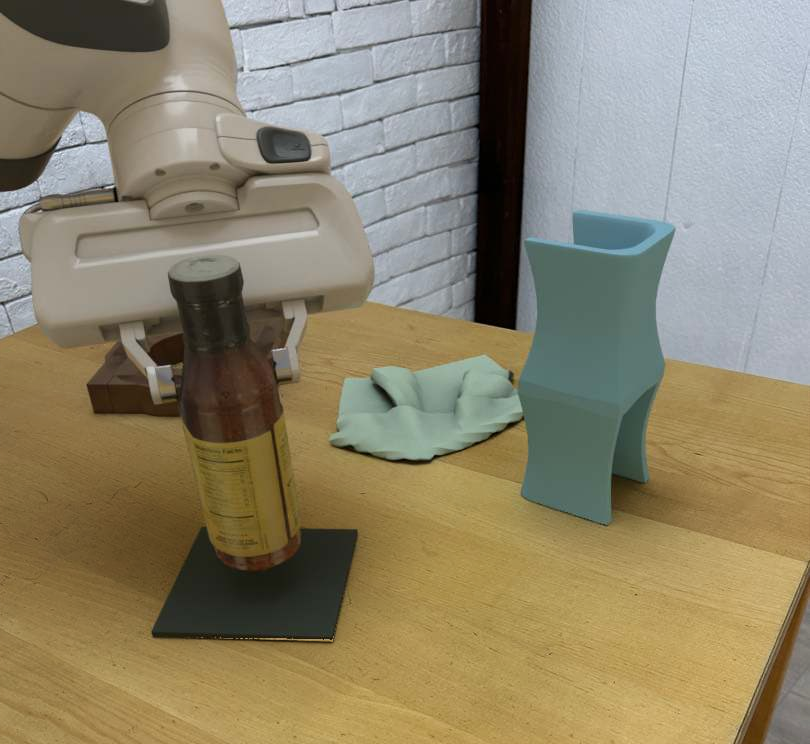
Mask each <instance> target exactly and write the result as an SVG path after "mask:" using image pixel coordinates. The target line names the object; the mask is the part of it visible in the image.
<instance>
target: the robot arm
mask: <svg viewBox="0 0 810 744" xmlns="http://www.w3.org/2000/svg"><path fill="white" fill-rule="evenodd" d="M229 25H230V24H229V22H228V18H227V14H226V10H225V7H224V5H223V2H222V0H0V193H8V192H15V191H18V190H19V191H20V190H22V189H24V188H27V187H29V186H30V185H32V184H34V183H35V182H36V181H38V180H39V178H40V177H41V176H42V175H43V174H44V172H45V170H46V168H47V166H48V165H49V163H50V160H51V159H52V157H53V155H54V154H55V151H56V149H57V147H58V145H59V144H60V142H61V139H62V137H63V134H64V133H65V131H66V130H67V128H68V127H69V126H70V124H71V123H72V122H73V121H74V119H75V118H76V117H77V115H78V113H80V112H84V113H87V114H91V115H93V116H95V117H97V118H98V119H99V120H100V121H101V123H102V125H103V127H104V130H105V137H106V141H107V147H108V153H109V159H110V165H111V168H112V169H111V170H112V175H113V180H114V186H113V187H108V188H99V189H90V190H85V191H80V192H76V193H70V194H63V193H53V194H48V195H44V196H41V197H39V202H37V203H36V204H32V205H31V206H30V207H28V208H26V209H25V211H24V212H23V213H22V214H21V215H20V216H19V220H18V229H17V230H18V235H19V236H18V237H19V242H20V249H21V252H22V254H23V257H24V258H25V259H26V261H28V262H29V263H30V285H31V299H32V308H33V309H32V310H33V314H34V318H35V321H36V324H37V325H38V327H39V330H40V331H41V332H42V333H43V335H44V336H45V337H46V338H47V339H48V340H49V341H50V342H52V343H53V344H54V345H56V346H57V347H58V348H60V349H64V350H66V349H67V350H68V349H75V348H82V347H90V346H97V345H104V344H111V343H116V342H119V341H122V344H123V346H124V349H125V351H126V354H127V356H128V357H129V358H130V359H131V361H132V362H133V363H134V364H135V365H136V366H137V367H138V368H139V369H140V371H141V372H142V373H143V374H144V375H145V376H146V377H147V378H148V381H149V387H150V392H151V396H152V400H153V402H154V405H156V404H163V403H169V402H175V401H179V398H178V392H177V389H176V382H175V376H174V372H173V369H172V368H173V365H166V366H158V367H157V365H156V364H155V363H154V361H153V360H152V359H151V358H150V357H149V356H148V355H147V353H149V351H150V347H149V341H148V337H154V336H161V335H168V334H175V333H182V332H183V328H182V324H181V319H180V315H179V310H178V306H177V302H176V300H175V299H174V298H173V296H172V294H171V291H170V285H169V279H168V272H169V270H170V268H171V267H172V266H173V265H174V264H176V263H177V262H179V261H182V260H185V259H189V258H195V257H199V256H205V255H225V256H229V257H233V258H235V259H236V260H237V261H238V262H239V263H240V267H241V272H242V275H243V280H244V285H243V290H242V297H243V303H244V307H245V315H246V318H247V323H253V322H261V321H268V320H275V319H282V323H283V328H284V332H286V333H289V332H290V334H289V336H288V339H287V342H286V345H285V348H281V349H275V350H271V355H272V357H271V361H272V366H273V369H274V371H275V375H276V380H277V385H278V386H285V385H290V384H292V385H293V384H298V383H300V382H301V369H300V364H299V359H298V355H299V351H300V349H301V346H302V343H303V340H304V338H305V336H306V333H307V329H308V319H309V318H308V316H310V315H317V314H324V313H331V312H338V311H345V310H354V309H358V308H361V307H363V306H364V304H365V303H366V301H368V298H369V296H370V295H371V292H372V291H373V288H374V285H375V276H376V272H375V271H376V269H375V263H374V258H373V254H372V251H371V248H370V247H371V246H370V243H369V240H368V237H367V233H366V231H365V228H364V225H363V222H362V219H361V216H360V213H359V211H358V208H357V205H356V203H355V201H354V199H353V197H352V195H351V193H350V191H349V190H348V188H347V187H346V186H345V185H344V184H343V183H342V181H340V180H339V179H337V178H336V177H334V176H332V163H331V153H330V148H329V144H328V141H327V139H326V138H325V137H324V136H323V134H320V133H318V132H315V131H311V130H305V129H299V128H295V127H290V126H289V127H288V126H284V125H280V124H279V125H277V124H272V123H269V122H265V121H260V120H258V119H257V120H256V119H253V118H250V117H248V115H247V113H246V110H245V109H244V107H243V105H242V103H241V102H240V100H239V97H238V93H237V85H238V79H239V78H238V77H239V75H238V73H239V71H238V63H237V57H236V52H235V47H234V43H233V38H232V34H231V30H230V26H229Z"/></svg>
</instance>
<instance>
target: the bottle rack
mask: <svg viewBox="0 0 810 744" xmlns="http://www.w3.org/2000/svg"><path fill="white" fill-rule="evenodd" d="M248 324H249V328H250V339H251V340H252V341H253V342H254V343H255V344H256V345H257V346H258V347H259V348H260V349H261V350H262V351H263V352H264V353H265V354H266V357H267V359H268V361H269V362H270V364H271V366H272V361H271V357H272V355H271V350H275V349H281V348H285V345H286V342H287V339H288V336H289V334H290V332H289V333H286V332H284V328H283V323H282V319H275V320H268V321H261V322H253V323H248ZM148 341H149V347H150V351H149V353H147V355H148V356H149V357H150V358H151V359H152V360H153V361H154V363H155V364H156V365H157V367H158V366H166V365H171V366H173V365H174V364H178V363H180V362H183V359H184V348H185V344H184V341H183V332H182V333H175V334H168V335H161V336H154V337H148ZM272 367H273V366H272ZM182 368H183V367H182ZM182 368H179V367H178V368H176V367H175V368H174V367H172V369H173V372H174V376H175V382H176V389H177V392H178V398H179V394H180V387H181V378H182ZM85 386H86V390H87V393H88V397H89V400H90V404H91V407H92V411H93V413H95V414H99V413H100V414H113V413H114V414H147V415H150V416H157V417H180V413H179V408H178V401H175V402H169V403H163V404H156V405H154V402H153V400H152V396H151V392H150V387H149V381H148V378H147V377H146V376H145V375H144V374H143V373H142V372H141V371H140V369H139V368H138V367H137V366H136V365H135V364H134V363H133V362H132V361H131V359H130V358H129V357H128V356H127V354H126V351H125V349H124V346H123V344H122V341H119V342H115V343H114V344H113V346H112V347H111V348H110V349H109V351H108V352H107V353H106V354H105V355H104V363H103V364H102V365H101V366H100V367H99V369H97V371H96V372H95V373H94V374H93V376H92V377H91V378H90V379H89V381H87V382H86V385H85Z"/></svg>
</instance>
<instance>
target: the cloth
mask: <svg viewBox="0 0 810 744" xmlns="http://www.w3.org/2000/svg"><path fill="white" fill-rule="evenodd" d="M514 378H515V372H513V371H512V370H510V369H505V368H503V367H502V366H501V365H499V364H498V363H497V362H496V361H494V360H493V359H492V358H491V357H490V356H488V355H487V354H482V355H478V356H472V357H469V358H464V359H461V360H457V361H453V362H448V363H444V364H440V365H436V366H433V367H428V368H424V369H420V370H415V371H411V370H410V369H409V368H407V367H399V366H391V365H389V366H387V365H386V366H381V367H374V368H372V369H371V374H370V377H345V378H344V381H343V385H342V389H341V392H340V393H341V395H340V399H339V406H338V416H337V419H336V423H335V424H336V427H337V429H338V432H334V433H331V434H330V438H329V442H330V443H331V445H332V446H334V447H337V448H340V449H341V448H343V449H350V450H352V451H354V452H358V453H361V454H366V453H368V454H370V455H371V456H373V457H377V458H380V459H383V460H385V461H398V460H402V459H404V460H405V459H406V460H410V461H414V462H426V461H427V462H430V461H431V460H432V459H433V457H434V456H445V455H448V454H450V453H454V452H457V451H461V450H464V449H466V448H469V447H471V446H473V445H475V443H477V442H478V443H479V442H482V441H485V440H487V439H488V438H490V436H491V435H493V434H495V433H496V432H497V433H499V432H502V431H504V430H505V429H507V427H508V426H509V425H511V424H514V423H516V422H520V421H521V420H522V419H524V415H523V411H522V407H521V403H520V400H519V396H518V388H517V389H516V388H515V386H514V385H513V384H512V382H511V381H513V379H514Z"/></svg>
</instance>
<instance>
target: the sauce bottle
mask: <svg viewBox="0 0 810 744" xmlns="http://www.w3.org/2000/svg"><path fill="white" fill-rule="evenodd" d="M168 279H169V285H170V291H171V294H172V296H173V298H174V299H175V300H176V302H177V306H178V310H179V315H180V319H181V324H182V328H183V341H184V344H185V348H184V359H183V361H182V378H181V387H180V394H179V401H178V408H179V413H180V416H179V417H180V421H181V425H182V430H183V433H184V438H185V442H186V445H187V451H188V455H189V459H190V463H191V466H192V471H193V475H194V480H195V484H196V488H197V493H198V497H199V501H200V506H201V510H202V514H203V518H204V522H205V523H204V524H205V527H207V531H208V535H209V539H210V541H211V543H212V544H213V547H214V548H215V551H216V553H217V556H218V557H219V558H220V559H221V560H222V561H223V563H224V564H226V565H228V566H230V567H232V568H235V569H239V570H248V571H260V570H264V571H265V570H266V569H269V568H272V567H274V566H276V565H279V564H280V563H283V562H285V561H287V560H288V559H290V558H291V557H293V556H294V554H295V553H296V552H297V551H298V549H299V546H300V541H301V529H300V528H301V524H302V516H301V511H300V506H299V499H298V492H297V487H296V481H295V473H294V468H293V462H292V456H291V450H290V444H289V438H288V430H287V423H286V418H285V411H284V407H283V404H282V403H281V399H280V393H279V385H277V380H276V375H275V371H274V369H273V367H272V366H271V364H270V362H269V361H268V359H267V357H266V354H265V353H264V352H263V351H262V350H261V349H260V348H259V347H258V346H257V345H256V344H255V343H254V342H253V341H252V340H251V339H250V328H249V324H248V323H247V318H246V315H245V307H244V303H243V297H242V290H243V285H244V280H243V275H242V272H241V267H240V263H239V262H238V261H237V260H236V259H235V258H233V257H229V256H225V255H205V256H199V257H195V258H189V259H185V260H182V261H179V262H177V263H176V264H174V265H173V266H172V267H171V268H170V270H169V272H168Z"/></svg>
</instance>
